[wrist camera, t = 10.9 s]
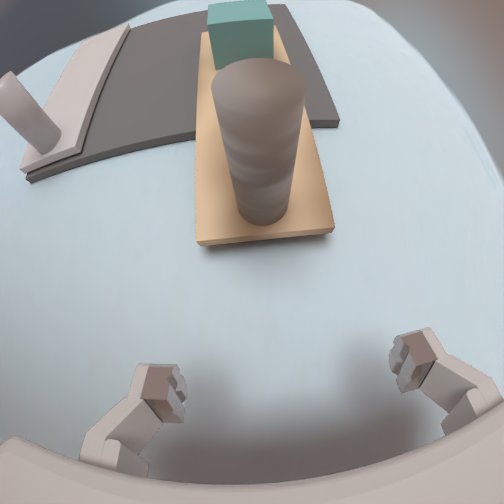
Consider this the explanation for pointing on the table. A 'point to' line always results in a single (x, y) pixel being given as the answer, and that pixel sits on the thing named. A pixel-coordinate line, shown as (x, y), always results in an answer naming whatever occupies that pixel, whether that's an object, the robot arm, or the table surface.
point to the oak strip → (221, 183)
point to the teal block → (240, 31)
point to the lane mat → (173, 89)
